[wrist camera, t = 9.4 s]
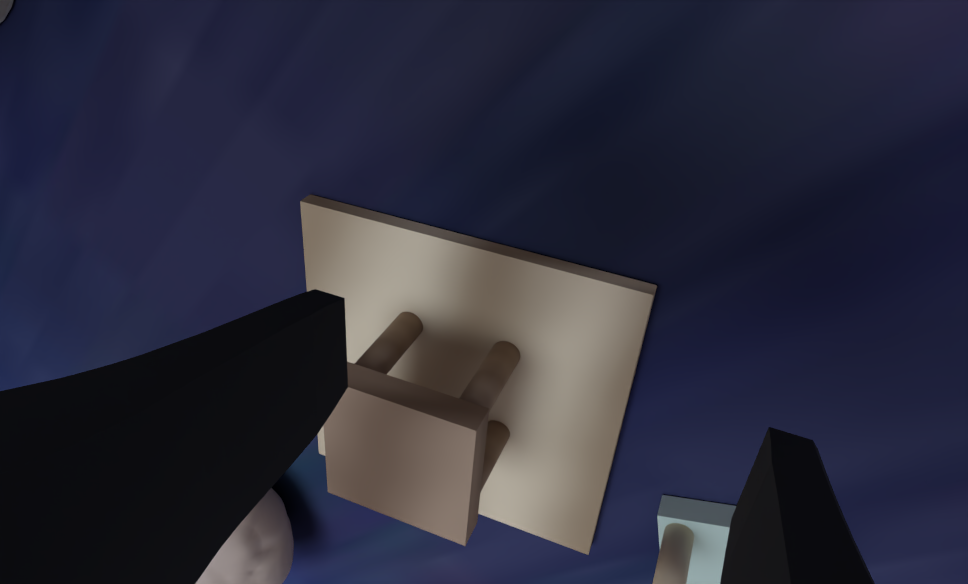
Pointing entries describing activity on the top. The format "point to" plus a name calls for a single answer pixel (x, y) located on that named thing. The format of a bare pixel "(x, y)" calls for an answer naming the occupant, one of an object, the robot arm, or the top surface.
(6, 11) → the thermos bottle
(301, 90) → the top surface
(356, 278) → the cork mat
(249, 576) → the garlic bulb
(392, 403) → the stool
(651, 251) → the top surface
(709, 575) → the upturned stool
